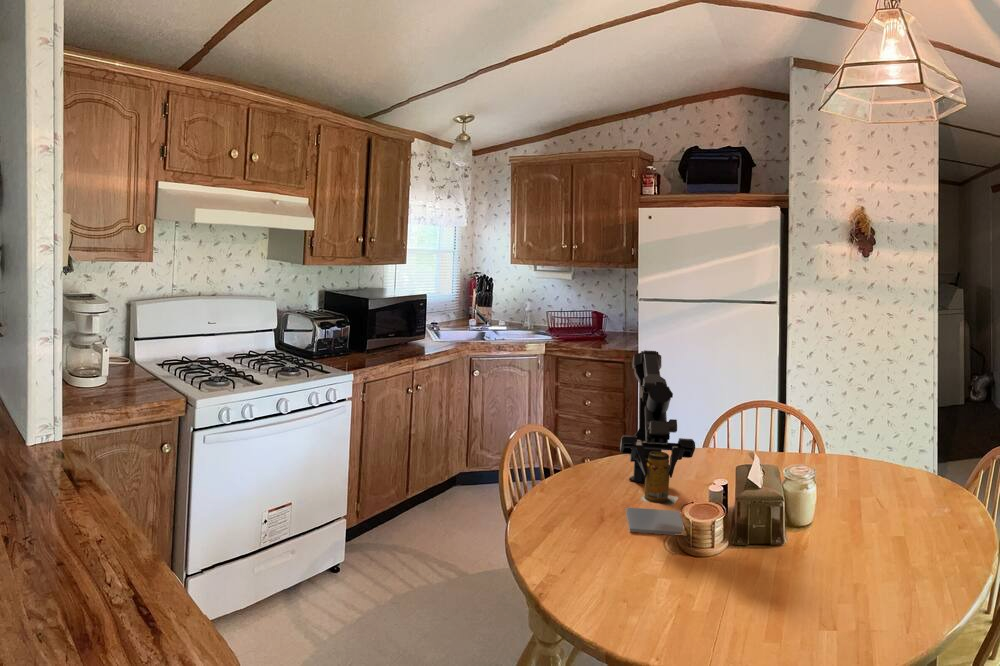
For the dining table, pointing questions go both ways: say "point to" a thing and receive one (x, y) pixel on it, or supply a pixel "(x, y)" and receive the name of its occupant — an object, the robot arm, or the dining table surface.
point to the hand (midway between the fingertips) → (658, 476)
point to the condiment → (658, 479)
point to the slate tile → (654, 521)
